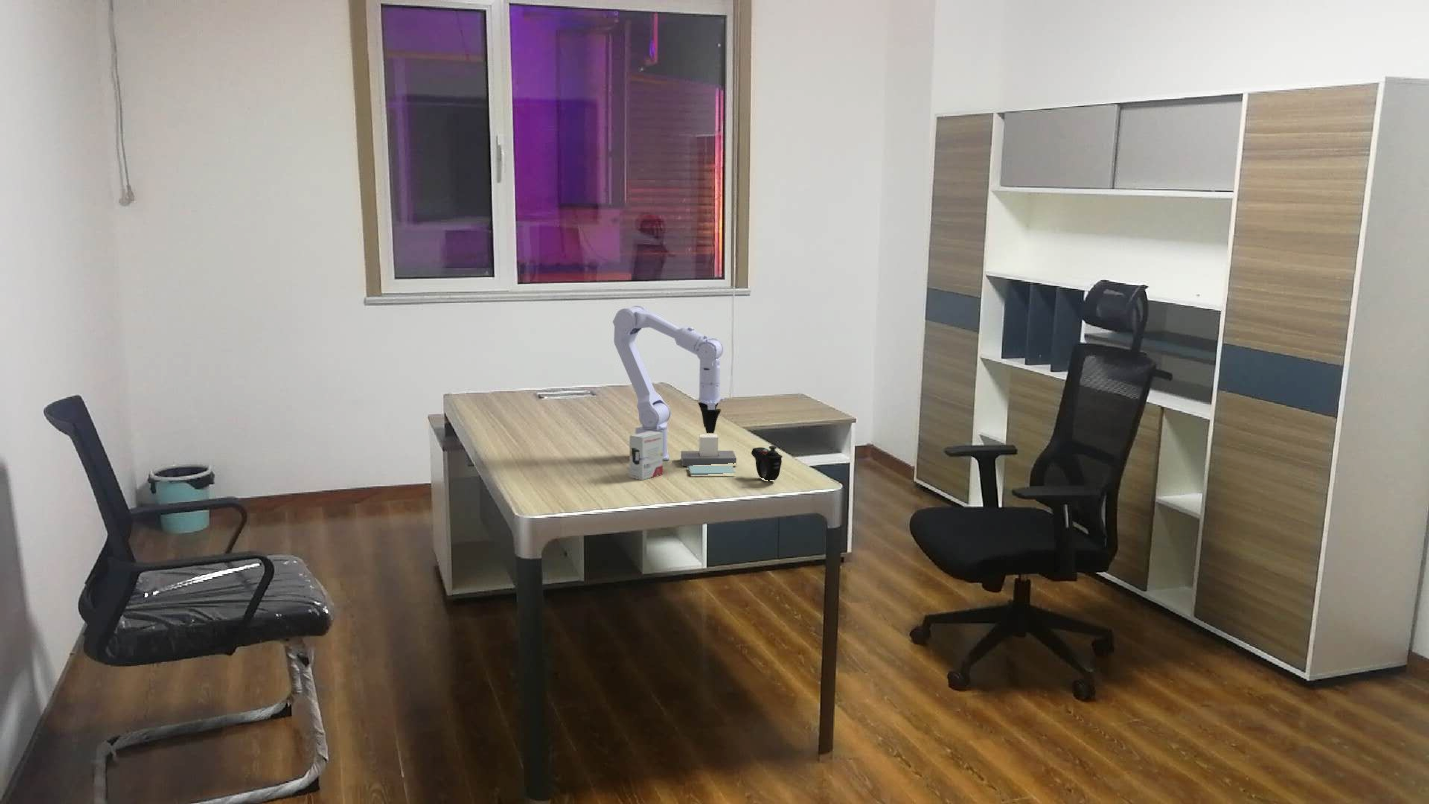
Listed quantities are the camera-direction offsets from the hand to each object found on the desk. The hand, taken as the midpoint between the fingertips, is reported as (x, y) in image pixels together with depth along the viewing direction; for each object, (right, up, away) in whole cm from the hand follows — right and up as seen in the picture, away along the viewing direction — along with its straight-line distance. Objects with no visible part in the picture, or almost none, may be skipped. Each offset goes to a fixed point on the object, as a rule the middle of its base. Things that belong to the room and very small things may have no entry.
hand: (708, 430), depth 310 cm
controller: (+15, -13, -15) cm, 26 cm away
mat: (+1, -12, -9) cm, 15 cm away
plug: (0, -9, +2) cm, 10 cm away
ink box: (-17, -12, -13) cm, 25 cm away
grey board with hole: (0, -9, +2) cm, 10 cm away
